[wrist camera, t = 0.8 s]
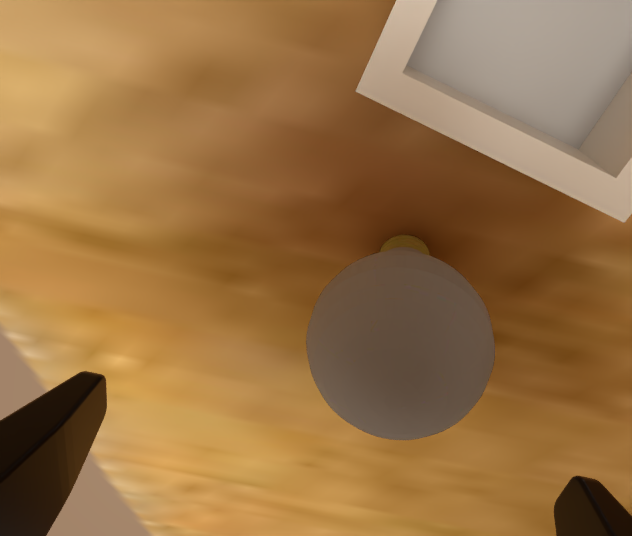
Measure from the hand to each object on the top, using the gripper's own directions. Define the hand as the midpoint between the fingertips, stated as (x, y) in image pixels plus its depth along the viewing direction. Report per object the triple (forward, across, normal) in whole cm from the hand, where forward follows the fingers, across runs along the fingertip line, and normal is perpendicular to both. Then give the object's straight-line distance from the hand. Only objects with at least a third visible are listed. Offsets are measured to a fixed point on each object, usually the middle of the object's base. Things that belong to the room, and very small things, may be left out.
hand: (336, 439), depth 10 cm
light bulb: (+13, -3, +2) cm, 13 cm away
